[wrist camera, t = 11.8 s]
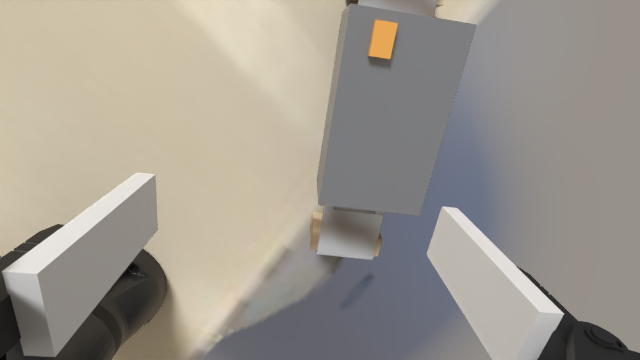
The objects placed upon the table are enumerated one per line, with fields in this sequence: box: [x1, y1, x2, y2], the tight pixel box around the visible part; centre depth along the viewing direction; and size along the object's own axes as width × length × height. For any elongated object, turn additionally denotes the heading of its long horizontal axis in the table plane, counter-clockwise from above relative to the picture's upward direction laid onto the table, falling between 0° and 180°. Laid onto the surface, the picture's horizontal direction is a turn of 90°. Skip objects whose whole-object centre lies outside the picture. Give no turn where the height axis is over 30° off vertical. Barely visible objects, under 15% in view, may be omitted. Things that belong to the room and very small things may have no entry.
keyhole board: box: [310, 0, 443, 260], centre depth 35 cm, size 30×8×6 cm, turn 172°
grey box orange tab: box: [317, 3, 477, 216], centre depth 31 cm, size 16×9×12 cm, turn 172°
